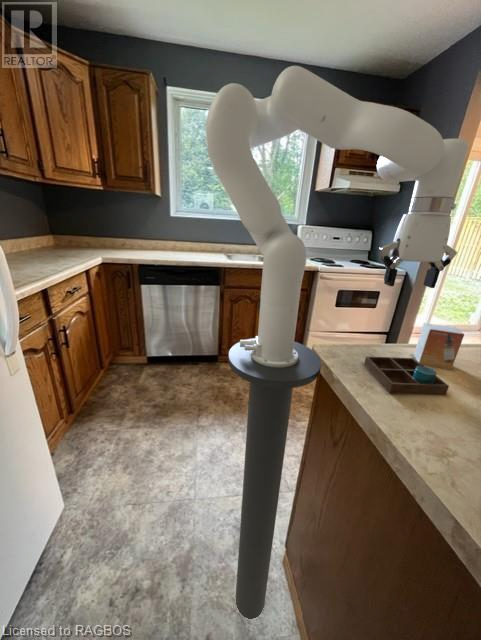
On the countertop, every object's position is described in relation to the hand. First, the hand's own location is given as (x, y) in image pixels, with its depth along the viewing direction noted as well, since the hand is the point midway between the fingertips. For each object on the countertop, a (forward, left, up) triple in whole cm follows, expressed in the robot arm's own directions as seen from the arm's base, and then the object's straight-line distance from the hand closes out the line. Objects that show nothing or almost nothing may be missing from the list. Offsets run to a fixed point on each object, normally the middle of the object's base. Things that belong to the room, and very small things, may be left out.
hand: (408, 285), depth 64 cm
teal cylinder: (+4, -8, -22) cm, 23 cm away
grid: (+1, -5, -22) cm, 23 cm away
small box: (+15, +4, -22) cm, 27 cm away
